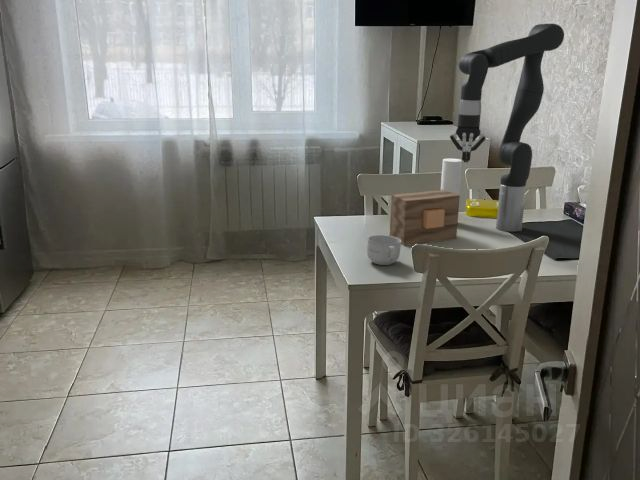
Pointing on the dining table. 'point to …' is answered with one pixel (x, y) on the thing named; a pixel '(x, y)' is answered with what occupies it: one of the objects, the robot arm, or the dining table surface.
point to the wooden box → (410, 216)
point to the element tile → (481, 208)
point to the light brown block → (433, 218)
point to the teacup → (383, 249)
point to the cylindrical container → (451, 175)
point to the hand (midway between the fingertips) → (465, 161)
